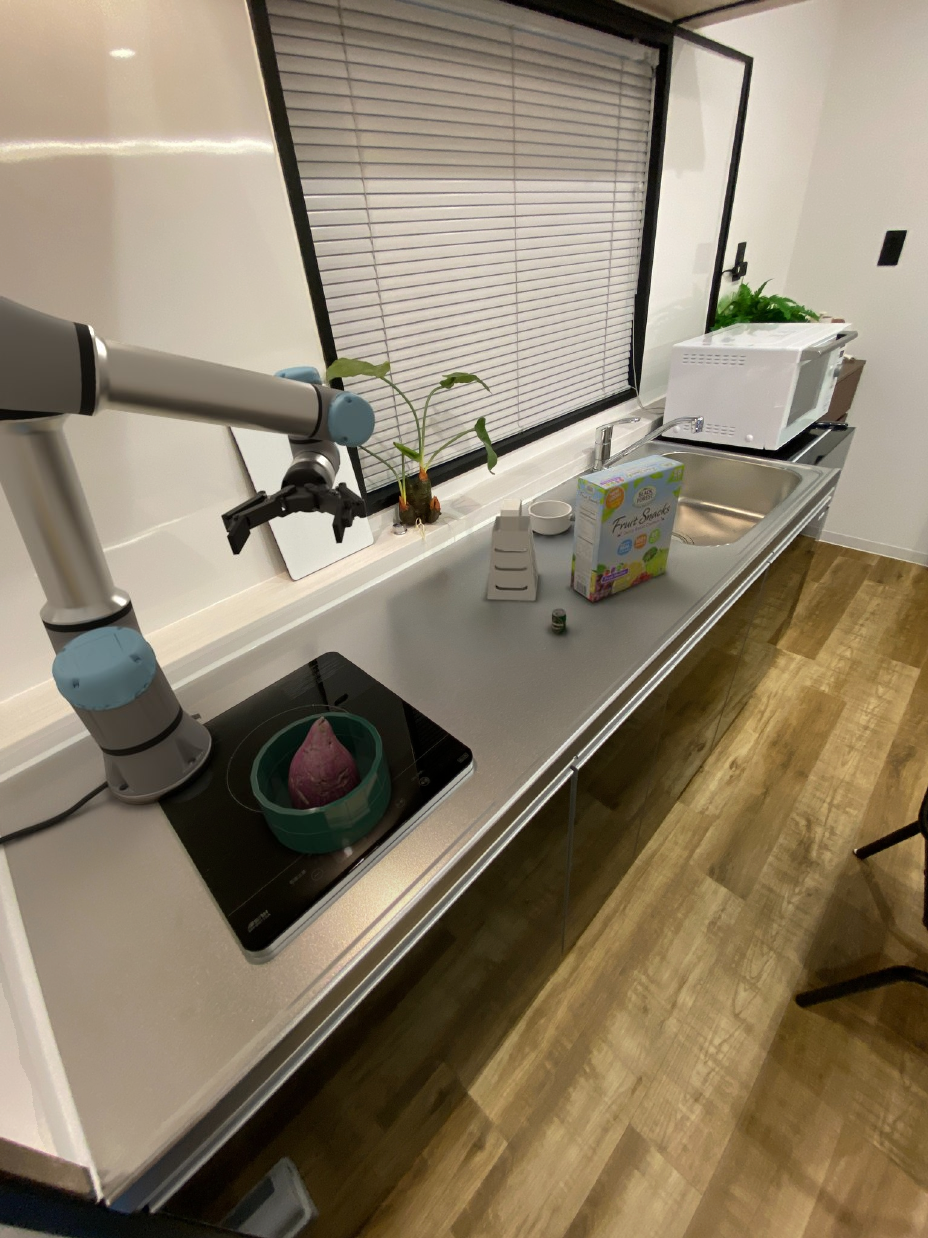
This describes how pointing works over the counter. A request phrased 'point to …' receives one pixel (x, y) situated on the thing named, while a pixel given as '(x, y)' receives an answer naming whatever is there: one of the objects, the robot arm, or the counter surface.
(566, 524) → the saucepan
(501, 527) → the grater
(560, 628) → the beer can
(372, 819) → the pot
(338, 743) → the vegetable
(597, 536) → the snack box
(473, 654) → the counter surface
